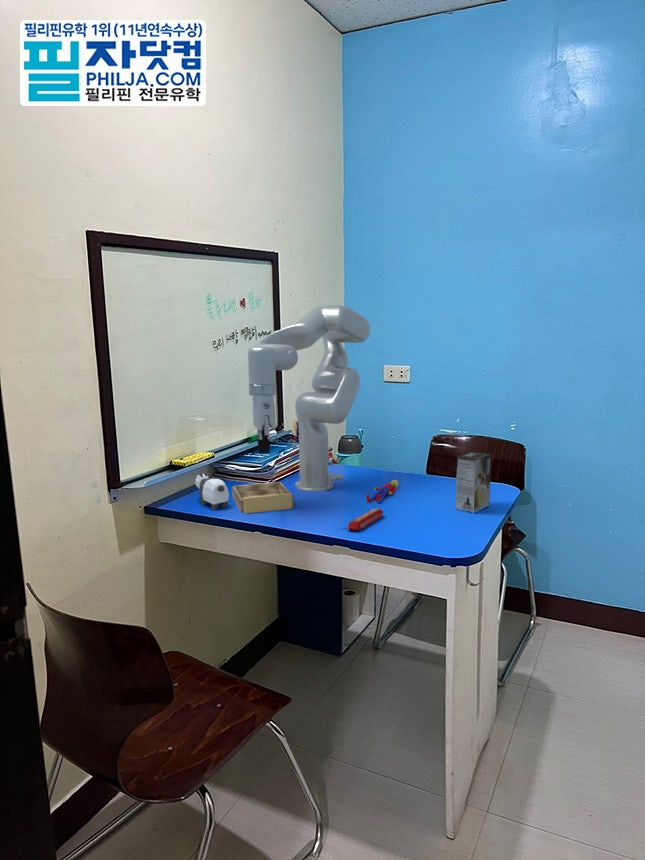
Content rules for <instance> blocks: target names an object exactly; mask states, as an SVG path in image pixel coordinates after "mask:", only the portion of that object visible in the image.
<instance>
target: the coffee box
mask: <svg viewBox="0 0 645 860" xmlns="http://www.w3.org/2000/svg"><path fill="white" fill-rule="evenodd" d="M491 467H492V454H491V453H486V452H485V453H484V452H479V451H478V452H477V451H470V452H467V453H465V454H461V455H459V456H457V457H456V479H455V480H456V481H455V483H456V487H455V489H456V490H455V509H456V508H457V509H462V510H466V511H471V512H476V511H478V510H480V509H482V508H485V507H487V506H489V507H490V499H491V498H490V497H491V492H490V491H491V473H492V472H491V471H492V470H491V469H492V468H491ZM487 508H488V507H487ZM485 509H486V508H485ZM478 512H479V511H478ZM476 513H477V512H476Z"/></svg>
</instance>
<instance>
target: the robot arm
mask: <svg viewBox="0 0 645 860" xmlns="http://www.w3.org/2000/svg"><path fill="white" fill-rule="evenodd" d="M370 334H371V326H370V323H369V321H368V320H367V318H366V317H364V316H363V315H361V314H360V313H358V312H356V311H355V310H354V309H352V308H349V306H348V307H347V306H345V305H320V306H316V307H314V308H313V309H312V310H310V311H309V312H307V314H306V315H304V316H303V317H302V318H300V319H299V320H298V321H297V322H296V323H294V324H291V325H288V326H286V327H283V328H282V329H277V330H275V331H273V332H271V333H269V334H267V335H265V337H263V338H262V339H260V340H259V341H258V342H257V343H256V344H255V345H254V346H251V347H250V348H249V349H248V351H247V352H248V353H247V357H248V358H247V362H248V363H247V365H248V366H247V367H248V390H249V392H248V395H249V396H250V397H252V421H253V426H254V427H255V428H256V429H257V452H258V453H259V454H268V453H270V452H271V446H270V445H271V441H270V440H271V439H270V438H271V437H270V435H271V434H270V429H271V430H273V431H274V430H276V429H277V424H276V411H275V400H274V396H276V371H290V370H291V369H293V368H295V367H296V365H297V363H298V360H299V354H298V352H297V351H300V350H304V349H308V348H311V347H312V346H313V345H314V344H316V343H317V342H319V340H320V339H322V341H323V347H324V352H323V353H324V354H323V356H322V358H321V361H320V363H319V365H318V367H317V370H316V371H315V373H314V376H313V377H312V381H311V387H312V389H313V391H306V392H303V393H301V394H300V395H298V396H297V398H296V400H295V414H296V419H297V425H298V426H297V427H298V452H299V453H298V455H299V457H298V458H299V460H298V461H299V464H298V465H299V480H298V481H296V482H295V484H294V485H295V486H294V488H295V489H297V490H299V491H304V492H323V491H325V492H327V491H329V490H332V489H333V488H334V481H343V479H344V477H343V474H337V473H330V472H329V431H328V432H327V429H326V427H325V425H326V424H332V425H338V424H339V425H340V424H342V423H343V422H344V421H345V420H346V419H347V417H348V415H349V413H350V411H351V409H352V406H353V404H354V401H355V399H356V398H357V396H358V393H359V391H360V383H361V379H360V374H359V372H358V371H357V370H356V369H354V368H353V367H348V364H349V355H348V353H347V352H346V350H345V347H344V345H343V343H347V344H348V343H349V344H358V343H359V344H360V343H361V344H362V343H365V342H366V341H367V340H368V338H369V337H370Z"/></svg>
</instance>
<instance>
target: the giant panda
mask: <svg viewBox="0 0 645 860" xmlns="http://www.w3.org/2000/svg"><path fill="white" fill-rule="evenodd" d="M194 481H195V482H194V483H195V486H196V487H197V488H198V489H199V492H198V493H199V499H200V505H201V506H207V505H208V503H209V504H210V505H211V506H210V507H211V508H210V509H211V510H212V511H216V510H218V509H219V507H220V508H223V509H224V508H225V509H226V508H228V503H229V497H230V494H229V488H228V486H227V485H226V483H225V482H224V480H221V479H219V478H213V477H209V476H208V472H204V473H201V472H199V474H197V476H196V478H195V480H194ZM219 504H220V506H219Z"/></svg>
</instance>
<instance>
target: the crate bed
mask: <svg viewBox="0 0 645 860" xmlns="http://www.w3.org/2000/svg"><path fill="white" fill-rule="evenodd" d="M284 493H291V491H290V490H289V488H288V487H286V486H285V484H283V483H282V482H281V481H273V482H264V483H262V482H261V483H253V484H242V485H232V486H231V497H232V499H233V501H234V503H235V504H236V506H237V508H238V509H239V511H240V513H244V497H253V496H263V495H273V494H284ZM292 508H294V495H293V494H292Z"/></svg>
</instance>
